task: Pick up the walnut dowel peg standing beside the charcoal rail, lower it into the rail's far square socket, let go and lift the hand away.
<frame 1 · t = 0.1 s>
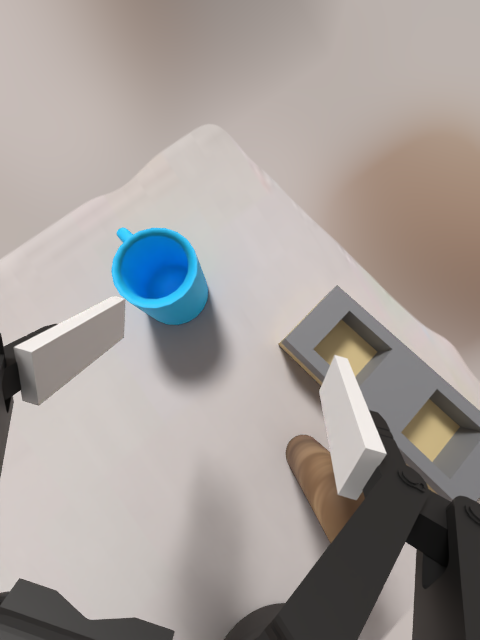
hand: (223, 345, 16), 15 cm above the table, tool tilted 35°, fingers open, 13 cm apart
peg: (304, 454, 29), on the table
mug: (166, 282, 34), on the table
rail: (371, 387, 30), on the table
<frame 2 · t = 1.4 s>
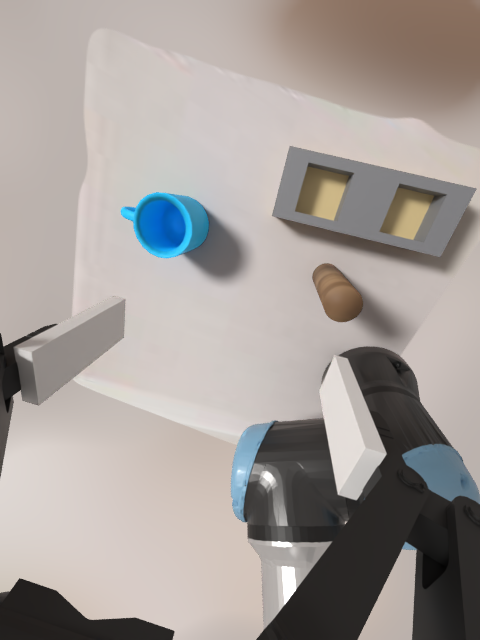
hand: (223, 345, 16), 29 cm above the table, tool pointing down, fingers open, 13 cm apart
peg: (325, 276, 42), on the table
mug: (173, 220, 42), on the table
rail: (357, 204, 37), on the table
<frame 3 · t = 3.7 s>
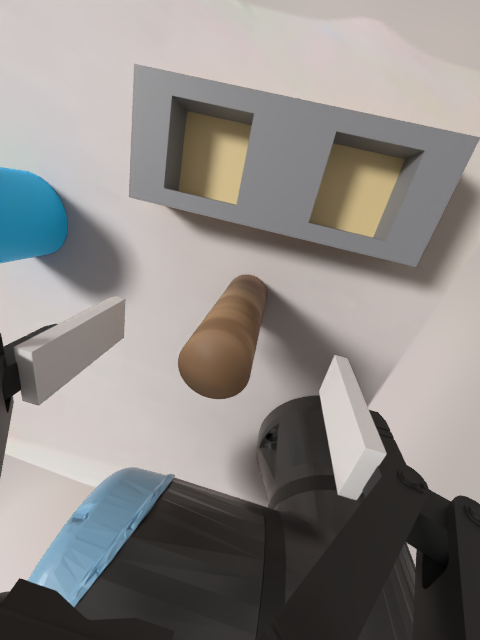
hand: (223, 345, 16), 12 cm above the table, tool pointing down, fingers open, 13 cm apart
peg: (247, 294, 27), on the table
mug: (16, 210, 28), on the table
rail: (283, 179, 23), on the table
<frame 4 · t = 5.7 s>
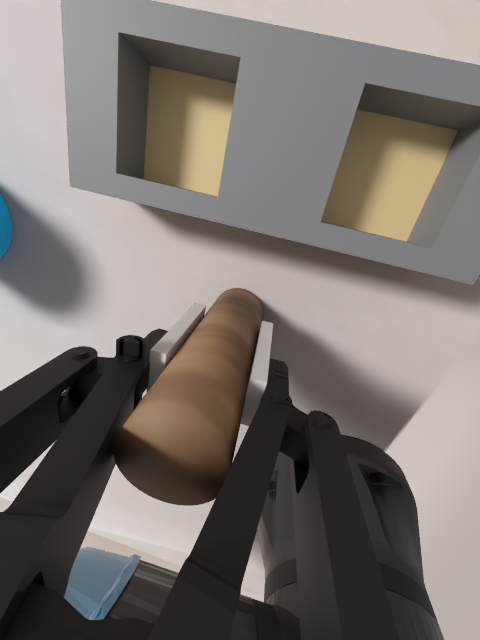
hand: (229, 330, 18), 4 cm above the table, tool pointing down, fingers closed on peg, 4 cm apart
peg: (238, 312, 21), on the table, touching gripper
rail: (284, 162, 17), on the table
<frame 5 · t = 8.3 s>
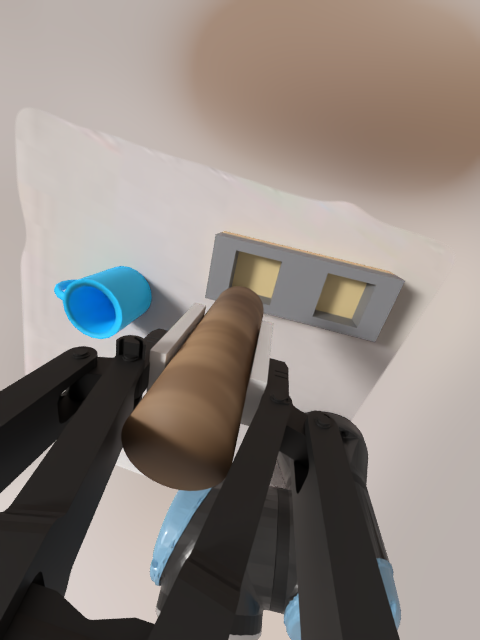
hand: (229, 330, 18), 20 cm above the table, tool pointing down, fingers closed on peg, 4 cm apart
peg: (239, 309, 22), point 16 cm above the table, touching gripper
mug: (116, 288, 42), on the table
rail: (296, 279, 36), on the table
when the fingers open (8 cm above the table, at t = 11.1 s): peg stays where it is, resting on rail.
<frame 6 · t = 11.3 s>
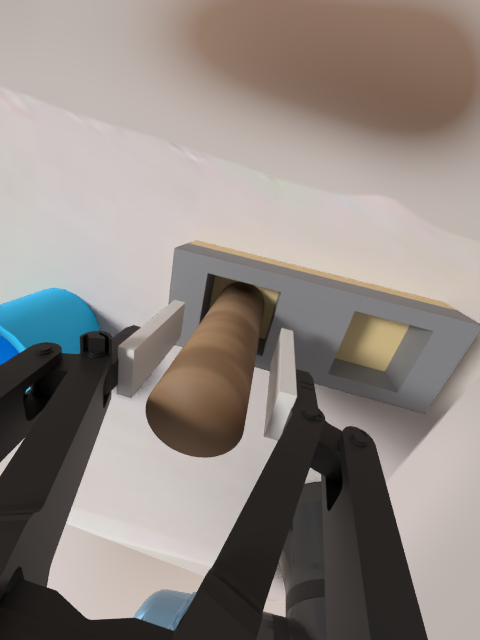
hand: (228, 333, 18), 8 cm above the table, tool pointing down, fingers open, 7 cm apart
peg: (241, 303, 23), point 2 cm above the table, touching rail
mug: (51, 317, 30), on the table
rail: (302, 311, 25), on the table
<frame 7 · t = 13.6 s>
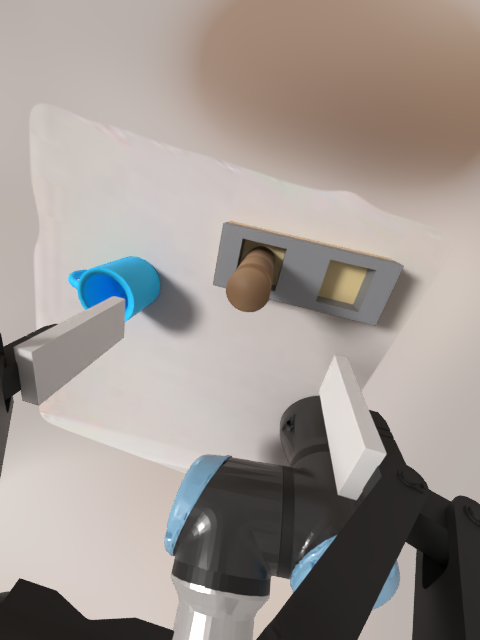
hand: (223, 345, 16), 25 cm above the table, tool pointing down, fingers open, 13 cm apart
peg: (261, 261, 36), point 2 cm above the table, touching rail
mug: (126, 278, 43), on the table
rail: (299, 267, 38), on the table
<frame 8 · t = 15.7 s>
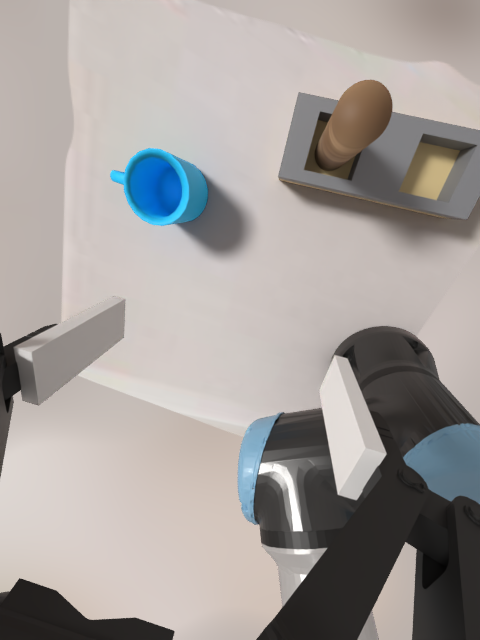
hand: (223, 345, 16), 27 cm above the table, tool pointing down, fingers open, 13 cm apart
peg: (331, 152, 32), point 2 cm above the table, touching rail
mug: (169, 189, 39), on the table
rail: (372, 164, 34), on the table
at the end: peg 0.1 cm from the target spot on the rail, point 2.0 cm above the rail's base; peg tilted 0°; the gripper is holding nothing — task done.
